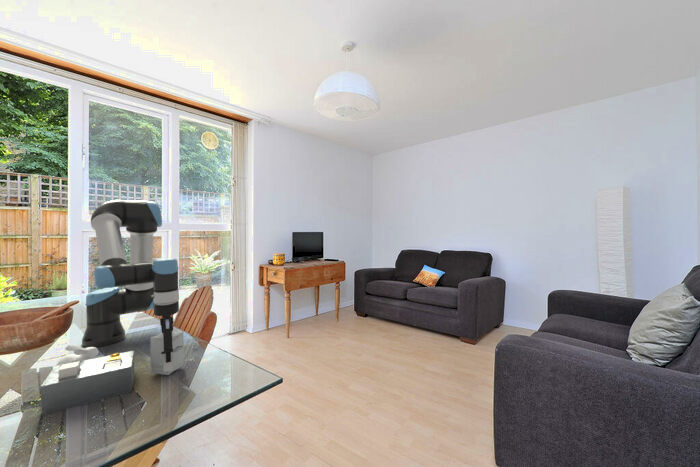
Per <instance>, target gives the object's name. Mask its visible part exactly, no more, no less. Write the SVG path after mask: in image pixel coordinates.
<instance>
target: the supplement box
mask: <svg viewBox="0 0 700 467" xmlns="http://www.w3.org/2000/svg"><path fill="white" fill-rule="evenodd" d="M149 339H150V341H149V342H150V345H149V346H150V373H151V374H156V375H165V376H168V375H169V376H170V374H172V373H173V372H174V371H176V370H178V369H180V368H181V367H183V366H185V365H184V364H185V362H184V361H185V359H184V358H185V357H184V356H185V355H184V353H185V351H184V350H185V346H184V331H179V330H173V331H172V347H173V370H171V371H167V372H164V361H163V354H161V352H163V351H164V341H163V333H162V332H160V333H158V334H156V335H154V336H151V337H150V338H149ZM169 349H170V348H169Z"/></svg>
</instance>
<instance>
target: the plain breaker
mask: <svg viewBox="0 0 700 467" xmlns="http://www.w3.org/2000/svg"><path fill="white" fill-rule="evenodd" d="M79 373H80V361H78V362H73V363H67V364H62V365H61V367H60V368H59V370H58V374H59V379H61V378H65V377H70V376H75V375H79Z"/></svg>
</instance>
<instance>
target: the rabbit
mask: <svg viewBox="0 0 700 467" xmlns="http://www.w3.org/2000/svg"><path fill="white" fill-rule="evenodd" d="M64 349H65V351H70V352H73V353H71V354H67V355H65V356H63V357H62V358H61V359H59V360H58V362H57V364H56V365H55V366H58V365H62V364H67V363H71V362H73V361H84V360H89V359H94V358H95V357H96V356H98V355H99V350H98V348H97V347H85V348H84V347H80V346H78V345H74V344H68V345H66V347H65V348H64Z"/></svg>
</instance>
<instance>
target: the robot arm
mask: <svg viewBox="0 0 700 467" xmlns="http://www.w3.org/2000/svg"><path fill="white" fill-rule="evenodd" d="M162 218H163V217H162V211H161V208H160V205H159V204H158V203H157V202H156V201H148V200H130V199H129V200H127V199H126V200H123V199H114V200H108V201H107V202H104V203H101V204H100V205H99V206H98V207H97V208H95V210H93V213H92V214H91V216H90V225H91V228H92V230H94V232H95V237H96V244H97V245H96V246H97V252H98V260H99V266H95V267H94V270H93V280H94V286H95V288H96V290H93V291H91V292H89V293H88V294H86V296H85V297H86V298H85V303H84V304H85V306H86V309H85V310H86V328H85V330H84V334H83V335H82V338H81V346H82V347H83V348H84V347H85V348H87V347H95V348H97V347H103V346H107V345H108V346H109V345H111V344H115V343H117V342H120V341H122V340H124V339H125V338H126V330H125V329H124V326H123V324H122V322H121V315H127V314H132V313H133V314H135V313H139V312H146V311H150V310H153V315H154V316H157V317H161V318H160V319H159V320H160V321H159V324H160V328H161V329H160V330H161V332H160V333H163V341H164V351H163V352H161V354H163V361H164V372H167V371H171V370H173V347H172V331H174V320H175V319H174V316H172V315H176V314H178V313H179V310H180V303H179V299H180V297H179V296H180V290H179V267H180V266H179V264H178V263H179V262H178V259H177V258H173V257H162V258H156V259H153V248H154V247H153V246H154V234H156V233H157V232H158V228H161V227H162V225H163V219H162ZM121 228H125V230H126V232H128V233H129V234H130V237H129V240H130V242H129V263H128V259H127V255H126V250H125V246H124V242H123V236H122V233H121V232H122V231H121ZM124 286H125V288H122V289H120V287H124ZM169 348H170V349H169Z"/></svg>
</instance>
